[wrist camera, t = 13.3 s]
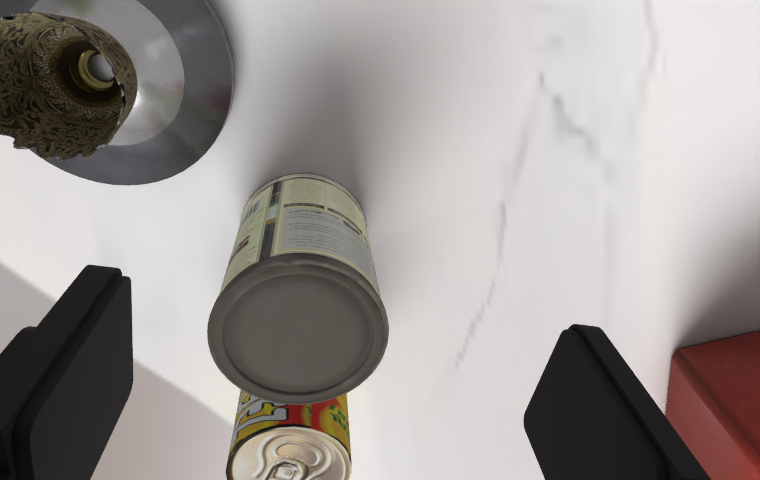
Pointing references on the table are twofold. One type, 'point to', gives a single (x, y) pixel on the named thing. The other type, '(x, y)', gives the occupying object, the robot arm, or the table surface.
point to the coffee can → (299, 296)
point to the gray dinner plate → (154, 84)
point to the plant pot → (719, 405)
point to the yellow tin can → (290, 441)
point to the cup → (61, 85)
